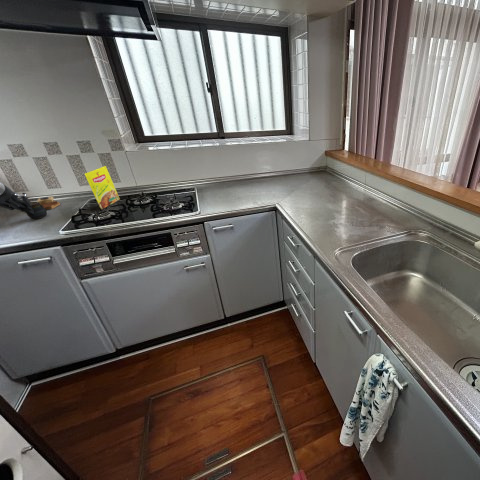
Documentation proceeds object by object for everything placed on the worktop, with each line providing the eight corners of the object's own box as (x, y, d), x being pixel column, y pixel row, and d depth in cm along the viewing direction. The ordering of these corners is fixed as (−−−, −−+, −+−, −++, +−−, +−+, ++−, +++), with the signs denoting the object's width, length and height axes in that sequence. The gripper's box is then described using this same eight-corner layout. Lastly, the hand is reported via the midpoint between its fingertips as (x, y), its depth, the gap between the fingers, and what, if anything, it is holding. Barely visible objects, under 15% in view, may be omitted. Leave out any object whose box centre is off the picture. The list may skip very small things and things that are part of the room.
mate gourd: (48, 213, 143) (38, 195, 138) (50, 217, 138) (39, 199, 133) (29, 217, 138) (18, 199, 133) (31, 222, 134) (19, 203, 129)
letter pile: (33, 210, 146) (28, 201, 143) (48, 204, 154) (42, 195, 151) (51, 210, 146) (45, 201, 143) (64, 203, 154) (59, 195, 151)
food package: (102, 209, 146) (85, 173, 136) (100, 209, 146) (83, 173, 136) (120, 199, 159) (106, 165, 149) (118, 199, 159) (104, 165, 149)
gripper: (-27, 201, 108) (15, 222, 129) (15, 195, 113) (49, 216, 134) (-29, 184, 110) (13, 208, 131) (13, 179, 115) (47, 203, 136)
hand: (31, 212), depth 133 cm, fingers closed
